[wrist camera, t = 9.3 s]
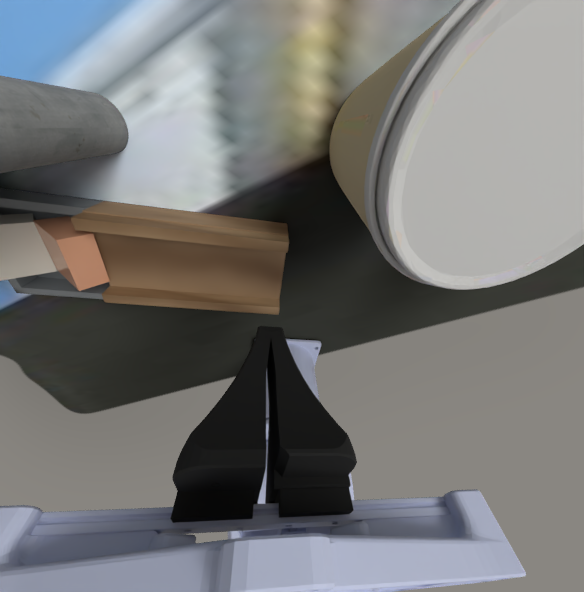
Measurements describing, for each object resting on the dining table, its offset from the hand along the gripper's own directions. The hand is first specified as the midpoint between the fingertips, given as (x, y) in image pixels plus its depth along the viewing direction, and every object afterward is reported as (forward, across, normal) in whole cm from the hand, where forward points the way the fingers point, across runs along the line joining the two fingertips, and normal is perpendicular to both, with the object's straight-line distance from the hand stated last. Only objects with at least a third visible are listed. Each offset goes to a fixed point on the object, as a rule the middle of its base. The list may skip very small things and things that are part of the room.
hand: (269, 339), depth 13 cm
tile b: (+7, +19, 0) cm, 20 cm away
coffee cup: (+10, -7, -10) cm, 16 cm away
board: (+10, +6, 0) cm, 12 cm away
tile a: (+8, +14, 0) cm, 16 cm away
